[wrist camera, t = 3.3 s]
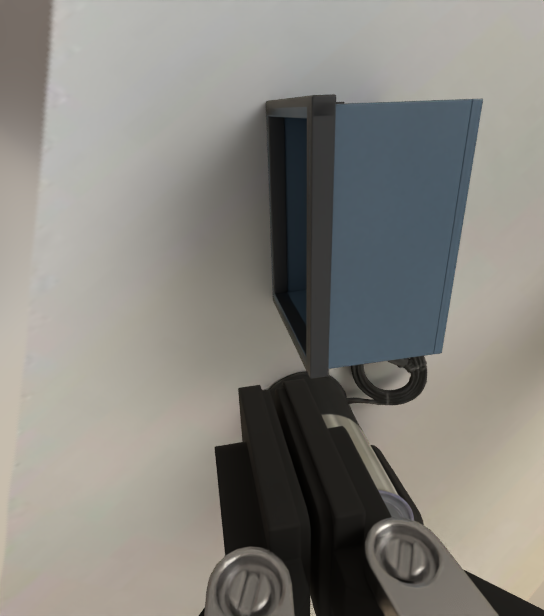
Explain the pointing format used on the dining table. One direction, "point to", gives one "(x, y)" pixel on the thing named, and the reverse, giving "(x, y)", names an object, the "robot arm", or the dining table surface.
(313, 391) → the milk frother
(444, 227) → the blue storage bin
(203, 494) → the dining table surface
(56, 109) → the dining table surface
